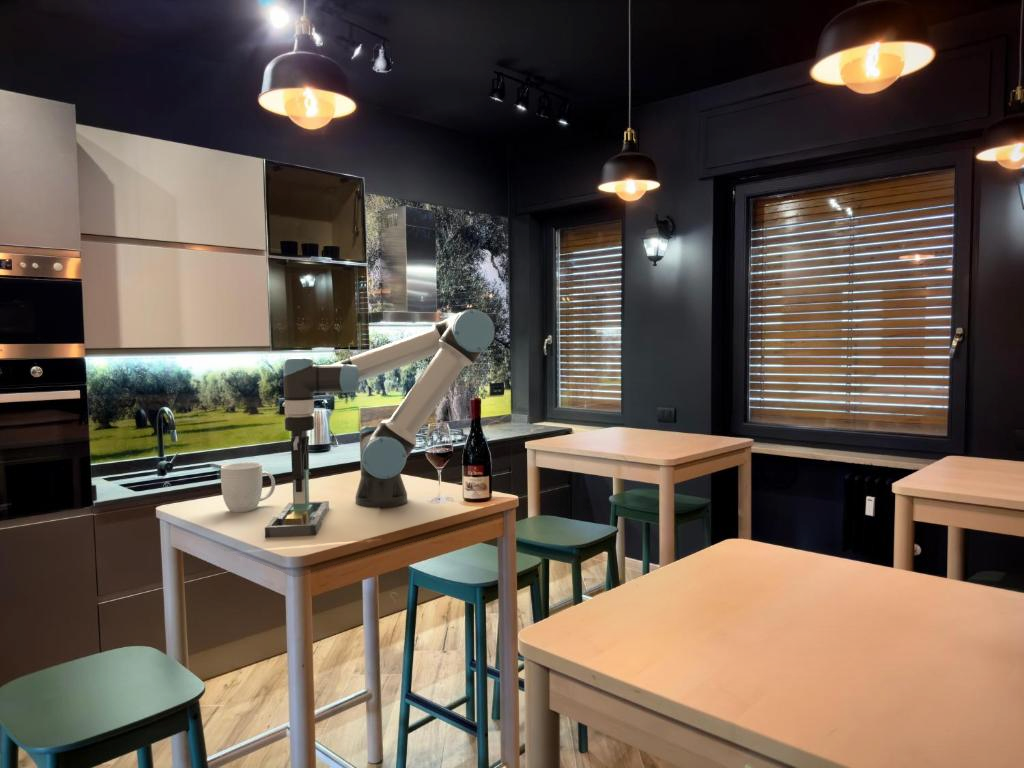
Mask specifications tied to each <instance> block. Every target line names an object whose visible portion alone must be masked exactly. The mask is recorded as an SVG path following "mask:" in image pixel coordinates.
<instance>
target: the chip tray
mask: <svg viewBox="0 0 1024 768" xmlns="http://www.w3.org/2000/svg"><path fill="white" fill-rule="evenodd" d="M322 523H323V520H321V515H316V517H315V519H314V520H313V522H312V524H304V525H283V526H279V521H278V516H273V517H272V518H271V519H270V521H269V522H268V523H267V524H266V526H265V527H264V538H265V539H269V538H270V539H272V538H291V537H292V538H293V537H311V536H313V537H314V536H317V534H318V532H319V531H320V528H321V526H322Z"/></svg>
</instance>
